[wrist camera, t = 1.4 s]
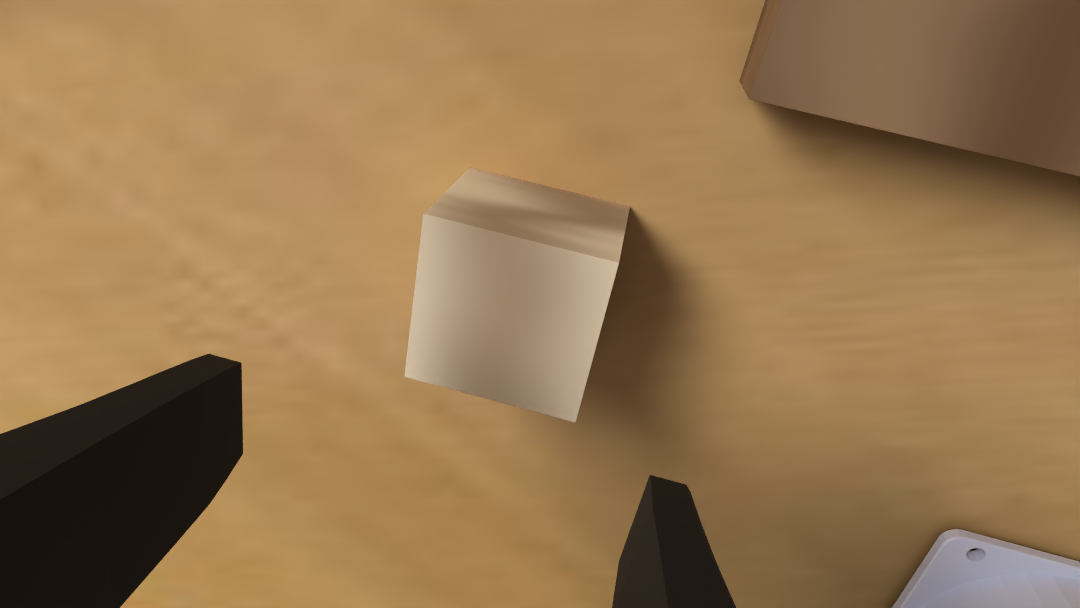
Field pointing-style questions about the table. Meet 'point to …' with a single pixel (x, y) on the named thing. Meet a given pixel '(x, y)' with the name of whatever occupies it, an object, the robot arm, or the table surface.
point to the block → (513, 291)
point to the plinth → (930, 71)
